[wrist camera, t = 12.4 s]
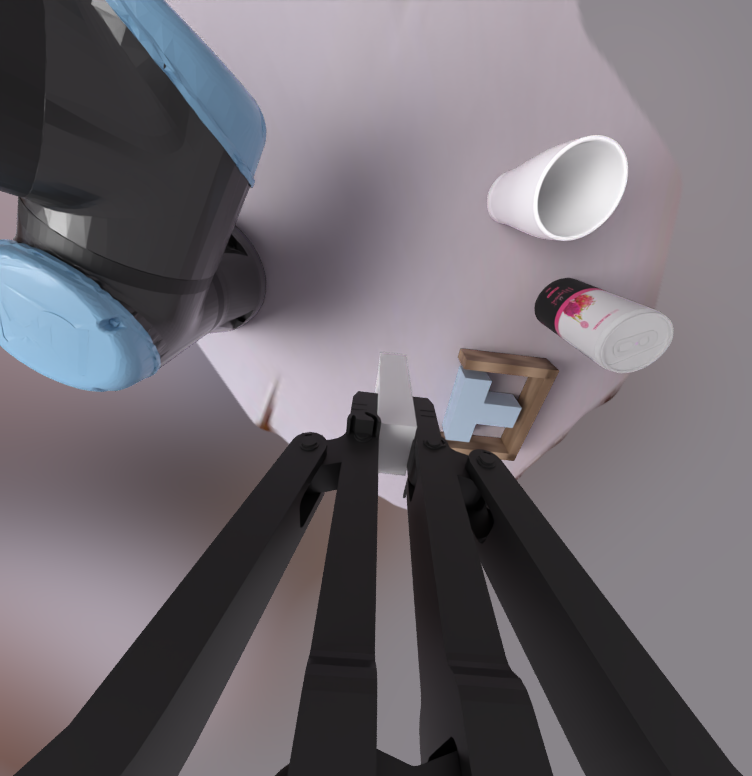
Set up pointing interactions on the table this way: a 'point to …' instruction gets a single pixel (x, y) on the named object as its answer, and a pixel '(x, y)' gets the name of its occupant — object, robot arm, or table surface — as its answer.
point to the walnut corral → (529, 400)
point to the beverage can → (604, 325)
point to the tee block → (477, 406)
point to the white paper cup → (562, 189)
